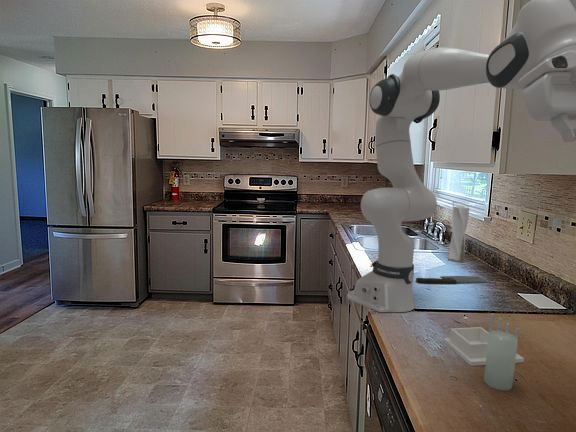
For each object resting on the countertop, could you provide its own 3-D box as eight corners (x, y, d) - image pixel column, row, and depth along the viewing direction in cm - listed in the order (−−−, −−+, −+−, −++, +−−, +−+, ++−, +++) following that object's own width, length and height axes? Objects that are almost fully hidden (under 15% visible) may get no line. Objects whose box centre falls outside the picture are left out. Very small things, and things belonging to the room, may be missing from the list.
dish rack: (470, 365, 91) (473, 334, 90) (443, 341, 103) (445, 313, 102) (523, 362, 93) (527, 331, 92) (490, 339, 105) (493, 311, 104)
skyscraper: (444, 259, 187) (449, 202, 182) (450, 256, 193) (455, 200, 188) (462, 263, 181) (468, 203, 177) (467, 259, 187) (473, 202, 183)
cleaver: (421, 286, 148) (421, 281, 148) (409, 278, 158) (409, 273, 157) (489, 284, 153) (490, 279, 153) (474, 276, 163) (474, 271, 162)
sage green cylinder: (480, 383, 84) (485, 336, 83) (487, 373, 88) (492, 328, 87) (508, 394, 81) (514, 344, 79) (514, 382, 85) (520, 335, 83)
